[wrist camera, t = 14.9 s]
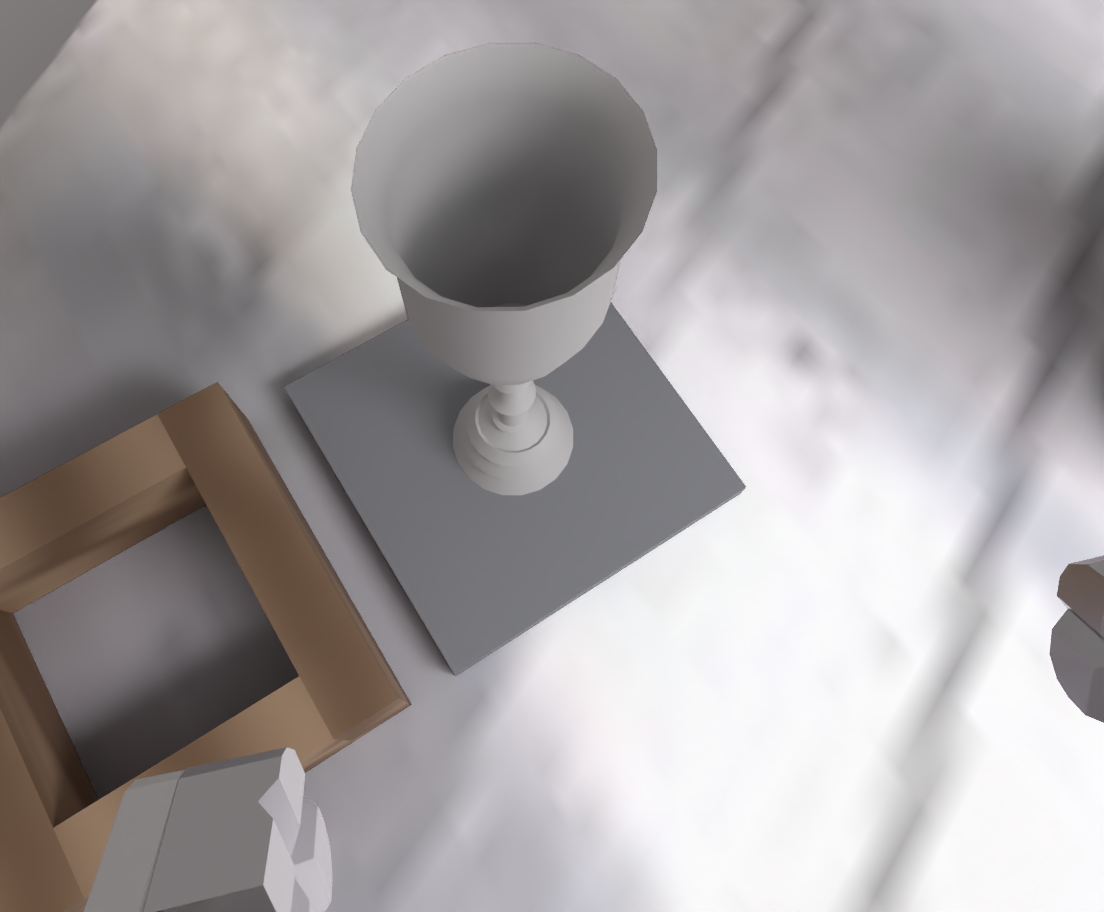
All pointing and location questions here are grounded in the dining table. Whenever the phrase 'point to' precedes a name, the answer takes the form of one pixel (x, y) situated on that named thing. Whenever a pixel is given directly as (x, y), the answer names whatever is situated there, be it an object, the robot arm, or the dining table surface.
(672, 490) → the grey mat
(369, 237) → the chalice
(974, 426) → the dining table surface
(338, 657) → the walnut holder
